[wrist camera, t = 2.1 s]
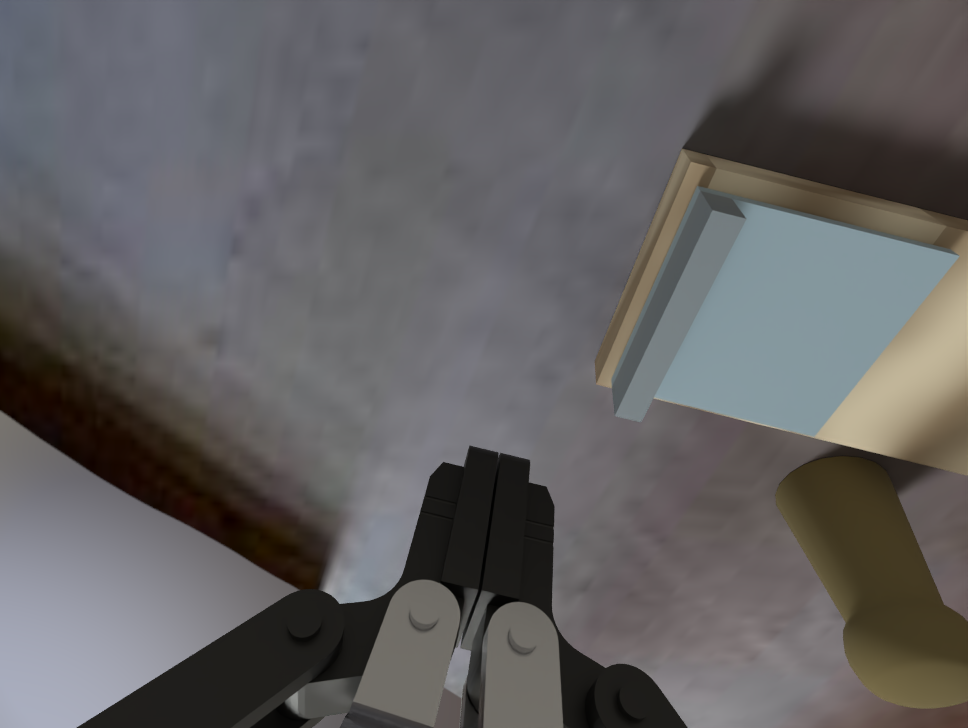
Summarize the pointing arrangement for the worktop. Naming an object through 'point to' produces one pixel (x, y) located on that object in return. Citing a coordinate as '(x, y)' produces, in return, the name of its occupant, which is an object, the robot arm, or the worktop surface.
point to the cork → (877, 582)
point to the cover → (770, 312)
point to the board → (905, 361)
